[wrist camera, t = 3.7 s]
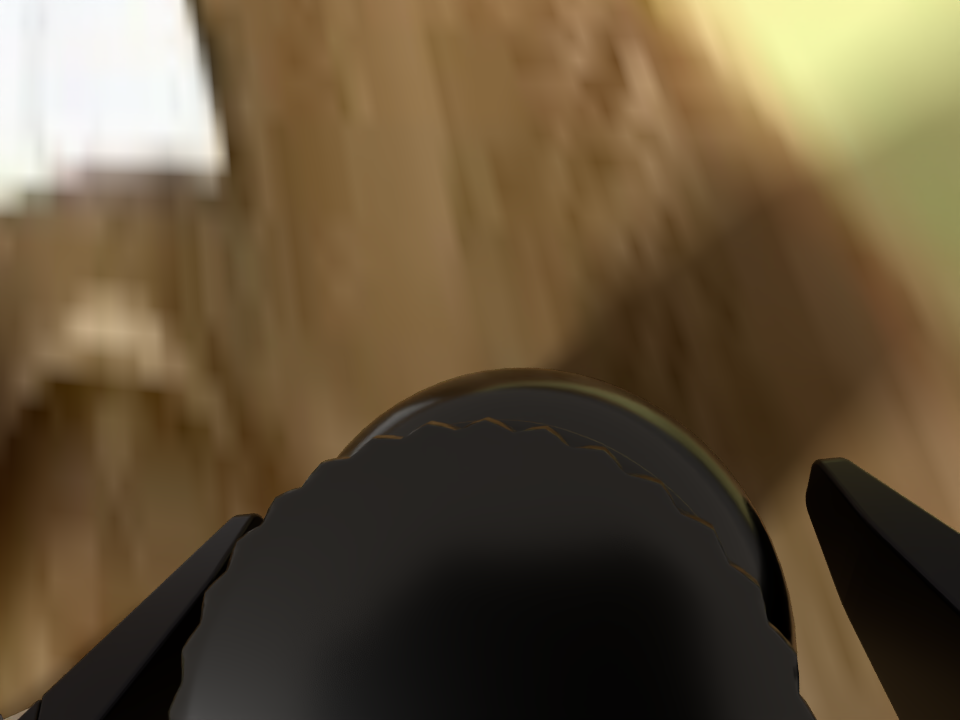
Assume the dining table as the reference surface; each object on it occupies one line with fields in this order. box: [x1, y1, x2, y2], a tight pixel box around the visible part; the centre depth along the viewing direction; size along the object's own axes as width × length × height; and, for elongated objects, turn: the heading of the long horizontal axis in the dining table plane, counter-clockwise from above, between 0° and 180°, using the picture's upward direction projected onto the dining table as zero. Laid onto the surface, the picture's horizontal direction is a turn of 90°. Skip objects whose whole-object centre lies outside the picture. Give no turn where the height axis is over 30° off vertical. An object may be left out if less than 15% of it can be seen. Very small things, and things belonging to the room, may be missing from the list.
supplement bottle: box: [168, 368, 817, 720], centre depth 10 cm, size 7×7×12 cm
